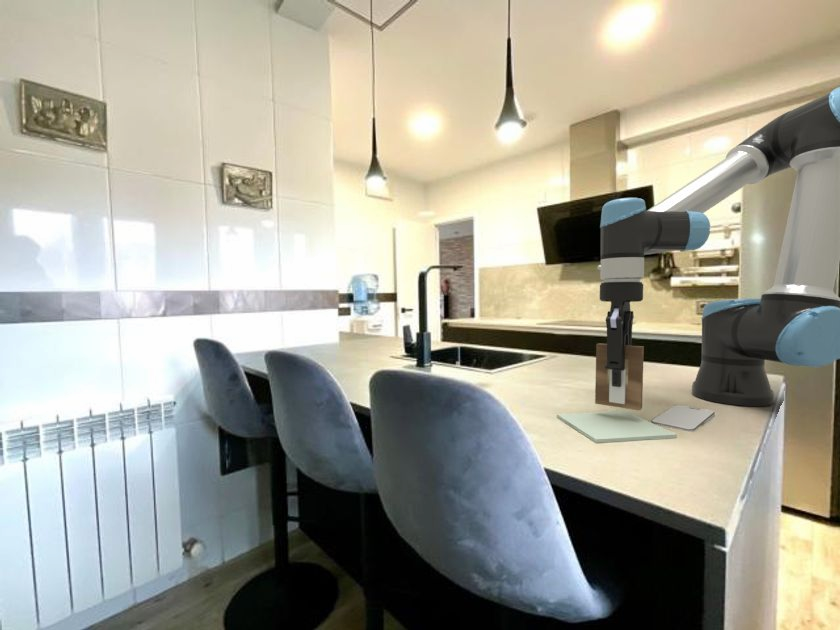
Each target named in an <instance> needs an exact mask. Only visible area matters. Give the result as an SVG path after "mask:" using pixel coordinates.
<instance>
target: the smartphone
mask: <svg viewBox="0 0 840 630" xmlns="http://www.w3.org/2000/svg"><path fill="white" fill-rule="evenodd" d="M714 417H715V411H713V410H710V409H704V408H698V407H692V406H686V405H682V404H681V405H680V404H675V405H673V406H670V408H668V409H667V410H665V411H663V412H662V413H660V414H658V415H657V416H655V417H653V418H652V419H650V422H651V423H653V424H655V425H657V426H660V427H661V426H662V427H666V428H671V429H676V430H680V431H684V432H689V433H690V432H691V433H693V432H696V431H697V430H699V428H700V429H701V427H703V426H705V424H707V423H708V422H709V421H710V420H713V418H714Z"/></svg>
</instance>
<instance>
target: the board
mask: <svg viewBox="0 0 840 630" xmlns="http://www.w3.org/2000/svg"><path fill="white" fill-rule="evenodd" d="M644 348H645V346H642V345H632V344H631V345H625V365H624V366H625V369H624V370H626V389H625V404H620V403H613V402H609V380H610V369H605V366H606V365H607V343H599V342H598V343H596V345H595V390H594V391H595V393H594V394H595V396H594V397H595V398H594V403H595V404H596V405H603V406H609V407H613V408H621V409H626V410H627V409H628V410H633V411H642V409H643V394H644V391H643V388H644V387H643V386H644V382H643V381H644V355H645V354H644V353H645V352H644V350H645V349H644Z"/></svg>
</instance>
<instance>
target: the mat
mask: <svg viewBox="0 0 840 630" xmlns="http://www.w3.org/2000/svg"><path fill="white" fill-rule="evenodd" d="M556 418H557V419H558V420H560V421H562V422H563V423H565V424H566V425H568V426H569V427H571V428H572V429H574V430H576V431H577V432H579V433H580V434H582V435H583V436H585V437H586V438H588V439H589V440H591V441H592V442H594V443H596V444H600V443H603V444H604V443H615V442H618V443H619V442H633V441H646V440H647V441H648V440H662V439H665V440H667V439H677V438H678V435H677V434H676V433H675V432H673V431H670V430H668V429H666V428H664V427H663V426H662V427H661V426H660V425H656V424H653V423H651V421H648V420H646V419H644V418H642V417H640V416H637V415H635V414H632V413H631V412H628V411H626V410H616V411H615V410H612V411H597V412H596V411H594V412H576V413H575V412H574V413H573V412H572V413H561V414H560V413H559V414H558V413H557V414H556Z"/></svg>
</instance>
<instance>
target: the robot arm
mask: <svg viewBox="0 0 840 630" xmlns="http://www.w3.org/2000/svg"><path fill="white" fill-rule="evenodd" d="M790 168H792V169H794V171H796V172H797V175H796V179H795V182H794V183H795V184H794V188H793V193H792V197H791V202H790V207H789V211H788V215H787V216H788V217H787V220H786V225H785V230H784V234H783V239H782V245H781V248H780V249H781V250H780V254H779V259H778V263H777V267H776V272H775V278H774V281H773V286H772V287H771V288H769V289H767V290H766V291H764V292H762V293H761V297H760V298H737V299H736V298H735V299H724V300H717V301H716V300H715V301H711V302H708V303H706V304H705V305H704V306H703V308H702V317H701V363H700V366H699V368H698V371H697V374H696V377H695V380H694V381H693V382H692V385H691V394H692V395H693V396H695V397H697V398H699V399H702V400H705V401H709V402H710V401H711V402H715V403H719V404H727V405H733V406H745V407H768V406H772V405H773V404H774V400H775V397H774V396H775V393H774V391H773V390H772V389H771V388H772V387H771V384H770V381H769V380H770V379H769V377H768V375H767V372H766V368H765V365H766V364H765V362H766V361H769V362H776V363H782V364H784V365H789V366H793V367H808V368H819V367H821V368H822V367H825V366H828V365H831V364H833V363H834V362H835V361H838V360H840V297H839V296H838V295H837V294H836V293H835V291H834V289H835V283H836V278H837V274H838V270H839V265H840V86H838V87H837V88H834V89H833V90H832V91H831V92H828V93H826V94H825V95H822V96H820V97H818V98H816V99H814V100H811V101H810V102H806V103H805V104H803V105H800V106H798V107H797V108H794V109H792V110H789V111H786V112H784V113H782V114H781V115H779V116H777V117H775V118H774V119H772V120H771V121H770V122H768V123H767V124H765V125H764V126H762V127H761V128H760V129H758V130H757V131H755V132H754V133H752V134H751V135H749V137H747V138H746V139H744V140H742V142H740V143H739V144H738V145H737V144H736V146H734V147H732V148H731V149H730V150H729V151H728V152H727V154H726V156H725V158H724V159H723V160H721V161H719V162H718V163H716V164H715V165H713V166H712V167H711V168H709V169H707V170H706V171H705V172H703V173H702V174H700V175H698V176H697V177H696V178H694V179H693V180H691V181H689V182H688V183H686V184H685V185H683V186H682V187H681V188H679V189H677V190H675V192H673V193H671V194H669V196H666V197H665V198H664V199H662V200H661V201H659V202H658V203H656V204H655V205H653V206H652V207H650V208H649V209H647V206H646V201H645V200H644V199H642V198H638V197H623V198H622V197H621V198H616V199H612V200H610V201H607V202H606V203H604V205H603V206H602V209H601V215H600V225H599V228H600V264H599V265H597V270H598V271H600V274H599V275H600V276H599V278H600V280H602V281H603V282H601V283H600V284H599V301H600V302H605V303H606V302H608V303H609V302H610V309H609V310H608V311H607V312H606V315H607V316H606V317H605V324H606V325H605V326H606V344H607V365H606V366H605V369H610V380H609V402H613V403H620V404H625V389H626V370H624V369H625V366H624V365H625V345H631V346H632V339H633V338H632V337H633V323H634V322H633V321H634V318H635V316H634V310H633V311H632V310H631V303H633V302H634V303H636V302H641V301H643V299H644V283H643V282H641V280H643V279H644V278H645V256H647V255H652V254H653V255H654V254H660V253H666V252H675V251H676V252H679V251H680V252H685V251H686V252H688V251H695V250H698V249H700V248H702V247H703V246H704V245H705V244H706V242H707V241H708V240H709V236H710V235H711V234H710V233H711V231H710V230H711V221H710V219H709V218H708V216H707V215H706V214H705V213H706V212H708V211H709V210H710V209H711V208H713V207H715V206H717V205H718V204H719V203H721V202H723V201H724V200H726V199H727V198H729V197H730V196H732V195H733V194H735V193H736V192H738V191H739V190H741V189H742V188H744V187H745V186H747V185H755V184H757V183H759V182H761V181H762V180H764V179H765V178H767V177H769V176H771V175H773V174H776V173H779V172H782V171H784V170H788V169H790Z"/></svg>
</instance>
